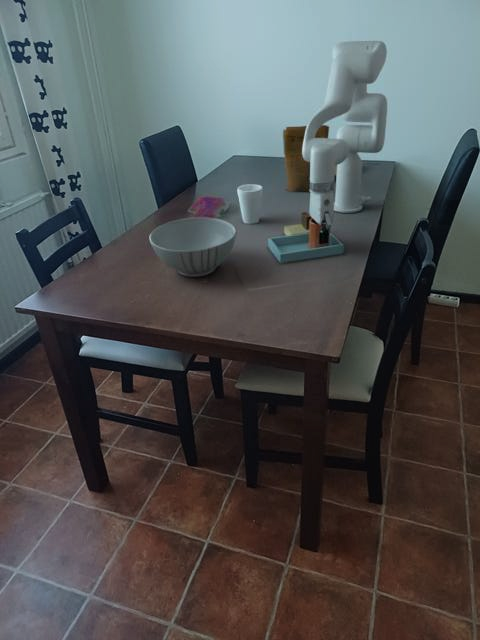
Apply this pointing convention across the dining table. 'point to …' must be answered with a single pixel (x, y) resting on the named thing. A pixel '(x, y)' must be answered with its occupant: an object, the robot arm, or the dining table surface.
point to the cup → (315, 235)
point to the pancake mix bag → (298, 157)
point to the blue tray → (301, 247)
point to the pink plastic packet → (212, 204)
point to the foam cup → (250, 202)
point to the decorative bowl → (194, 244)
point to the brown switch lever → (305, 220)
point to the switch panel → (295, 230)
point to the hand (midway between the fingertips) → (319, 238)
